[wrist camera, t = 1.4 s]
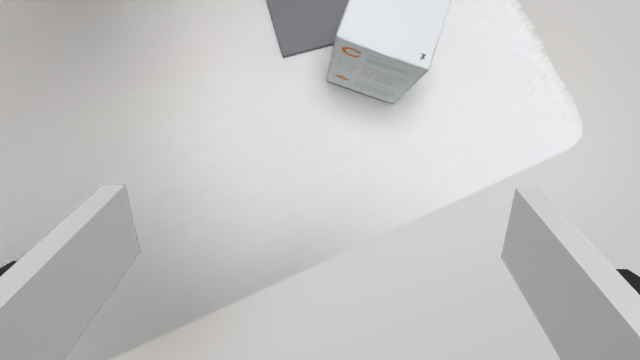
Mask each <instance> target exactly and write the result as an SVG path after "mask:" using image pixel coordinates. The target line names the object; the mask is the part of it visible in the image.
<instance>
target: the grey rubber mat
mask: <svg viewBox="0 0 640 360" xmlns="http://www.w3.org/2000/svg"><path fill="white" fill-rule="evenodd" d="M348 1H349V0H267V4H268V7H269V11H270V14H271V18H272V21H273V25H274V28H275V31H276V35H277V38H278V42H279V45H280V49H281V52H282V56H283V58H285V57H288V56H292V55H296V54H300V53H304V52H307V51H311V50H315V49H319V48H323V47H326V46H330V45H334V44H335V39H336V34H337V31H338V28H339V25H340V22H341V20H342V17H343V14H344V12H345V9H346V6H347V3H348Z"/></svg>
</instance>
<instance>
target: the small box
mask: <svg viewBox="0 0 640 360" xmlns="http://www.w3.org/2000/svg"><path fill="white" fill-rule="evenodd" d="M450 3H451V0H349V1H348V3H347V6H346V9H345V12H344V14H343V17H342V20H341V22H340V25H339V28H338V31H337V34H336V39H335V44H334V48H333V52H332V56H331V60H330V64H329V69H328V73H327V81H329V82H332V83H335V84H338V85H340V86H343V87H346V88H349V89H352V90H354V91H357V92H360V93H363V94H366V95H369V96H371V97H374V98H377V99H380V100H383V101H386V102H389V103H392V104H394V103H395V102H396V101H397V100H398V99H399V98H400V97H401V96H402V95H403V94H404V93H405V92H406V91H407V90H408V89H409V88H411V87H412V86H413V85H414V84H415V83H416V82H417V81H418V80H419V79H420V78H421V77H422V76H423V75H424V74H425V73H426V72H427V71H428V70H429V69H430V65H431V62H432V58H433V55H434V52H435V49H436V46H437V43H438V40H439V36H440V33H441V30H442V27H443V24H444V21H445V18H446V15H447V12H448V9H449V6H450Z"/></svg>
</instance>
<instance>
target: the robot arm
mask: <svg viewBox="0 0 640 360" xmlns="http://www.w3.org/2000/svg"><path fill="white" fill-rule="evenodd" d="M139 253H140V247H139V243H138V239H137V234H136V230H135V226H134V221H133V217H132V212H131V208H130V204H129V199H128V195H127V190H126V186H125V185H102V186H101V187H100V188H99V189H98V190H97V191H96V192H94V193H93V194H92V195H91V196H90V197H89V198H88V199H87V200H85V201H84V202H83V203H82V204H81V205H80V206H79V207H78V208H77V209H75V210H74V211H73V212H72V213H71V214H70V215H69V216H68V217H66V218H65V219H64V220H63V221H62V222H61V223H60V224H59V225H58V226H56V227H55V228H54V229H53V230H52V231H51V232H50V233H49V234H48V235H46V236H45V237H44V238H43V239H42V240H41V241H40V242H39V243H37V244H36V245H35V246H34V247H33V248H32V249H31V250H30V251H29V252H27V253H26V254H25V255H24V256H23V257H22V258H21V259H20V260H18V261H13V262H11V263H9V264H7V265H5V266H4V267H2V268H0V360H64V359H65V357H66V356H67V354H68V353H69V352H70V350H71V349H72V347H73V346H74V345H75V343H76V342H77V340H78V339H79V337H80V336H81V335H82V333H83V332H84V330H85V329H86V328H87V326H88V325H89V323H90V322H91V321H92V319H93V318H94V316H95V315H96V314H97V312H98V311H99V309H100V308H101V307H102V305H103V304H104V302H105V301H106V300H107V298H108V297H109V295H110V294H111V293H112V291H113V290H114V288H115V287H116V285H117V284H118V283H119V281H120V280H121V278H122V277H123V276H124V274H125V273H126V271H127V270H128V269H129V267H130V266H131V264H132V263H133V262H134V260H135V259H136V257H137V256H138V255H139ZM501 258H502V259H503V261H504V263H505V264H506V266H507V268H508V270H509V271H510V273H511V275H512V277H513V278H514V280H515V282H516V283H517V285H518V287H519V289H520V290H521V292H522V294H523V296H524V297H525V299H526V301H527V302H528V304H529V306H530V308H531V309H532V311H533V313H534V315H535V316H536V318H537V320H538V321H539V323H540V325H541V327H542V328H543V330H544V332H545V334H546V335H547V337H548V339H549V340H550V342H551V344H552V346H553V347H554V349H555V351H556V353H557V354H558V356H559V358H560V359H561V360H640V277H639V276H637V275H636V274H634V273H632V272H631V271H629V270H627V269H615V268H614V267H613V266H612V265H611V264H610V263H609V262H608V261H607V260H606V259H605V258H604V256H602V254H601V253H600V252H599V251H598V250H597V249H596V248H595V247H594V246H593V245H592V244H591V243H590V242H589V241H588V240H587V239H586V237H585V236H584V235H583V234H582V233H581V232H580V231H579V230H578V229H577V228H576V227H575V226H574V225H573V224H572V223H571V222H570V220H569V219H568V218H567V217H566V216H565V215H564V214H563V213H562V212H561V211H560V210H559V209H558V208H557V207H556V206H555V205H554V204H553V202H552V201H551V200H550V199H549V198H548V197H547V196H546V195H545V194H544V193H543V192H542V191H541V190H540V189H539V188H516V189H515V194H514V198H513V203H512V208H511V213H510V217H509V222H508V227H507V232H506V236H505V241H504V246H503V251H502V255H501Z"/></svg>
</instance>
